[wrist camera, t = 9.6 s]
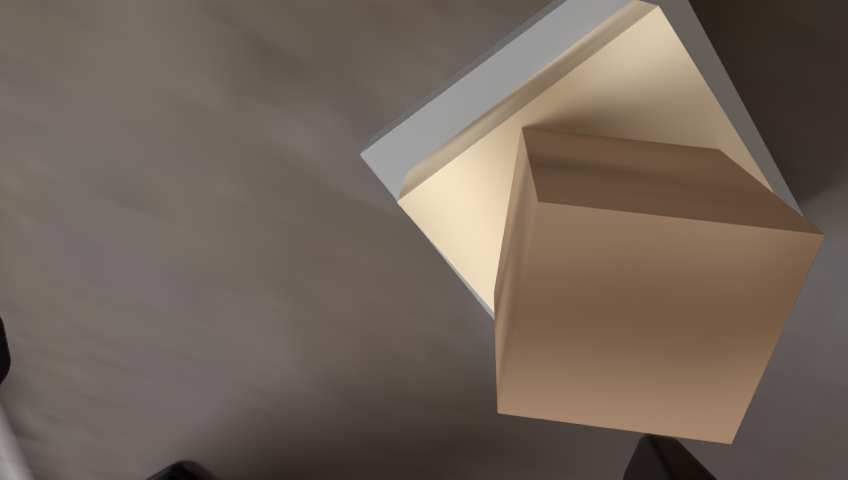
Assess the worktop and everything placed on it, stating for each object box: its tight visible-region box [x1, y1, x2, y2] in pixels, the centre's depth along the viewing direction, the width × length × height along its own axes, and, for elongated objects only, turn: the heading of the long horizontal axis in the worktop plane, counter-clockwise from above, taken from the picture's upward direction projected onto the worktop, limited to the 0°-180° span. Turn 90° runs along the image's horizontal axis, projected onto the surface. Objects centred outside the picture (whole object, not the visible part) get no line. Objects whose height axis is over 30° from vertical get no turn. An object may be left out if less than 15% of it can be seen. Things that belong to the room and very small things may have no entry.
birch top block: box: [397, 0, 775, 312], centre depth 17 cm, size 8×8×2 cm
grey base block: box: [360, 0, 804, 320], centre depth 19 cm, size 10×10×2 cm
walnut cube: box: [494, 127, 825, 444], centre depth 13 cm, size 5×5×5 cm
